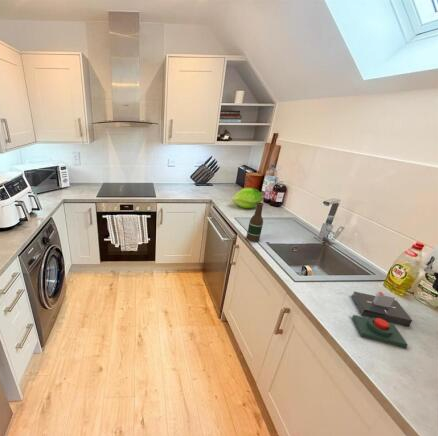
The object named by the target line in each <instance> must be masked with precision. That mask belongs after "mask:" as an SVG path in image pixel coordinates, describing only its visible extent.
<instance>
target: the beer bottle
mask: <svg viewBox="0 0 438 436" xmlns="http://www.w3.org/2000/svg"><path fill="white" fill-rule="evenodd" d="M263 207H264V203H263V202H260V203H257V205H256V206H255V210H254V214H253V215H252V217H251V218H250V219H249V223H248V228H247V234H246V239H247V241H249V242H253V243H257V242H260V238H261V234H262V230H263V225H264V219H263V217H262V212H263Z"/></svg>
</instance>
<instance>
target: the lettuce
mask: <svg viewBox="0 0 438 436" xmlns="http://www.w3.org/2000/svg"><path fill="white" fill-rule="evenodd" d="M230 200H231V202H232V203H234V204H236V205H237V206H238V207H240V208H243V209H254V208H256V207H257V203H262V200H263V194H262V192H261V191H260V190H258V189H257V188H253V187H244V188H241V189H240V190H239V191H237V192H236V193H235V194H234V195H233V196H232V197H231V199H230Z"/></svg>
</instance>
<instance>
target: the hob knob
mask: <svg viewBox="0 0 438 436" xmlns="http://www.w3.org/2000/svg"><path fill="white" fill-rule="evenodd" d="M374 296H375V298H374V300H373V303H374V304H375V305H379V306H383V307H388V308H390V306H391V304H392V303H393V301H394V300H396V297H395V296H394V295H393V294H391V293H385V292H382V291H377V292H376V293H375V295H374Z"/></svg>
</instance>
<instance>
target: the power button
mask: <svg viewBox="0 0 438 436" xmlns="http://www.w3.org/2000/svg"><path fill="white" fill-rule="evenodd" d="M389 323H390V322H387V321H385V320H383V319H380V318H376V319H375V321H374V325H375V326H377V327H378V328H380V329H383V330H387V329H388V327H389Z"/></svg>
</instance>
